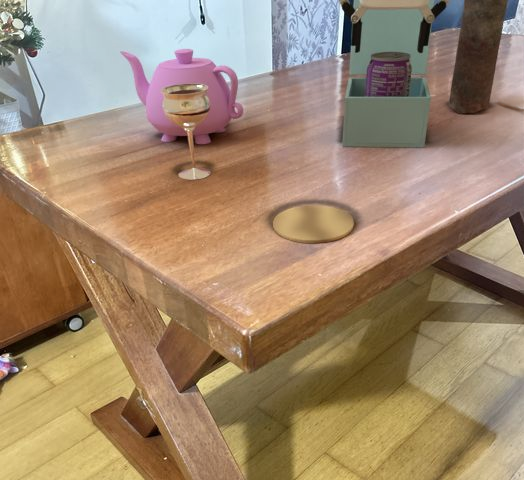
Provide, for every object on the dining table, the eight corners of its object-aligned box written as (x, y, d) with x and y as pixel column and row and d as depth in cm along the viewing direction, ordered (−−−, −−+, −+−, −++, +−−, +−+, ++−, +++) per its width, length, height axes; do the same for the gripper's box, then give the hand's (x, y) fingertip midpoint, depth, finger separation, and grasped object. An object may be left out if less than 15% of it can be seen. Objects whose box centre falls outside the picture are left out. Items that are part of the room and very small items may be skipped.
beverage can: (391, 125, 96) (399, 49, 89) (412, 136, 91) (422, 56, 83) (355, 130, 94) (360, 53, 87) (374, 142, 89) (381, 61, 82)
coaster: (331, 202, 72) (331, 200, 72) (368, 233, 65) (368, 230, 64) (261, 216, 70) (261, 213, 69) (291, 249, 62) (291, 246, 62)
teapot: (114, 144, 96) (96, 57, 88) (154, 119, 107) (142, 41, 99) (228, 152, 90) (221, 60, 81) (259, 125, 101) (255, 42, 93)
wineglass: (170, 168, 85) (158, 85, 77) (213, 163, 86) (205, 81, 78) (174, 184, 80) (162, 96, 72) (220, 178, 81) (212, 91, 73)
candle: (441, 105, 107) (460, -16, 95) (477, 103, 108) (500, -19, 95) (456, 116, 101) (478, -13, 89) (494, 113, 102) (521, -15, 89)
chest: (424, 147, 88) (431, 97, 83) (342, 146, 90) (344, 97, 85) (419, 122, 99) (425, 77, 94) (346, 122, 101) (349, 77, 96)
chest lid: (437, -28, 88) (434, -22, 92) (355, -25, 90) (355, -19, 94) (426, 74, 94) (423, 76, 97) (349, 74, 96) (349, 76, 100)
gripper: (338, -87, 73) (331, 55, 83) (472, -91, 70) (447, 56, 81) (341, -87, 78) (334, 46, 89) (465, -91, 76) (443, 47, 87)
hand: (388, 51), depth 85 cm, fingers open, 9 cm apart
